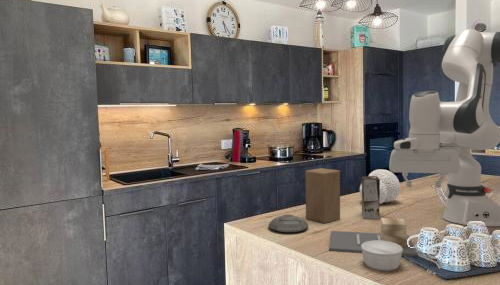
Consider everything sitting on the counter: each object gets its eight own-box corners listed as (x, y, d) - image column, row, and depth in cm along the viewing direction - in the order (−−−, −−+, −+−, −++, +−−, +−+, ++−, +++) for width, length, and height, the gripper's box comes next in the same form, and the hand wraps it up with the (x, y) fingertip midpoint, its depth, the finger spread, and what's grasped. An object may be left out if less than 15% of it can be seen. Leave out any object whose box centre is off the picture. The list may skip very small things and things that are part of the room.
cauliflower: (375, 179, 196) (380, 157, 184) (405, 199, 185) (412, 177, 174) (349, 200, 187) (353, 179, 176) (379, 223, 177) (385, 201, 165)
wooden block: (321, 214, 163) (321, 167, 161) (340, 219, 155) (340, 170, 154) (305, 218, 157) (304, 170, 155) (324, 223, 149) (324, 173, 147)
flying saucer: (316, 230, 142) (316, 215, 142) (284, 238, 134) (284, 222, 134) (291, 221, 155) (291, 207, 154) (260, 227, 147) (260, 213, 146)
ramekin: (362, 271, 104) (362, 252, 104) (359, 256, 115) (359, 239, 115) (406, 274, 102) (406, 254, 102) (398, 258, 113) (399, 240, 113)
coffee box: (380, 219, 154) (380, 179, 153) (363, 218, 155) (363, 179, 154) (377, 213, 163) (377, 175, 162) (361, 212, 164) (361, 175, 163)
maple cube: (403, 239, 126) (403, 219, 126) (406, 247, 120) (406, 225, 119) (380, 238, 128) (380, 218, 128) (382, 245, 121) (382, 224, 121)
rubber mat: (408, 237, 131) (408, 233, 131) (418, 256, 114) (418, 252, 114) (331, 233, 137) (331, 229, 137) (329, 250, 120) (329, 246, 120)
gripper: (457, 142, 120) (456, 186, 121) (388, 142, 125) (388, 184, 126) (463, 144, 114) (462, 190, 115) (390, 143, 119) (390, 187, 120)
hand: (423, 186), depth 120 cm, fingers open, 7 cm apart
